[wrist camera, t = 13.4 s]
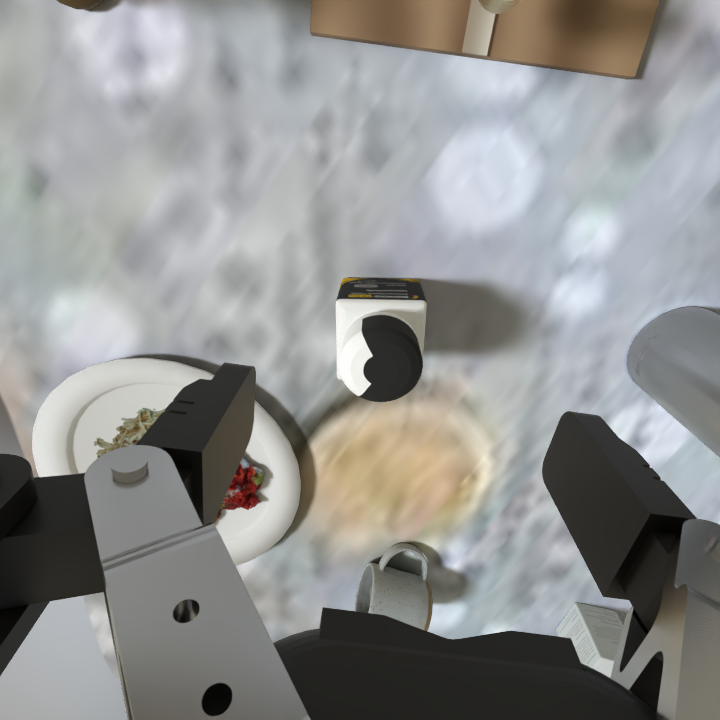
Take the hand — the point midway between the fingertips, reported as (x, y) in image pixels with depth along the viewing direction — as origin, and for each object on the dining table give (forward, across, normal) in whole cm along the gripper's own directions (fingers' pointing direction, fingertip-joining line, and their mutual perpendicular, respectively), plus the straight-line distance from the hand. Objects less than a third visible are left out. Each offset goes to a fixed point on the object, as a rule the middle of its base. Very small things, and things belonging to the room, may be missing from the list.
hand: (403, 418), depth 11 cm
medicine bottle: (+30, -1, +7) cm, 31 cm away
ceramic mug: (+30, -8, +42) cm, 52 cm away
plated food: (+30, +20, +30) cm, 47 cm away
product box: (+30, -36, +47) cm, 66 cm away
